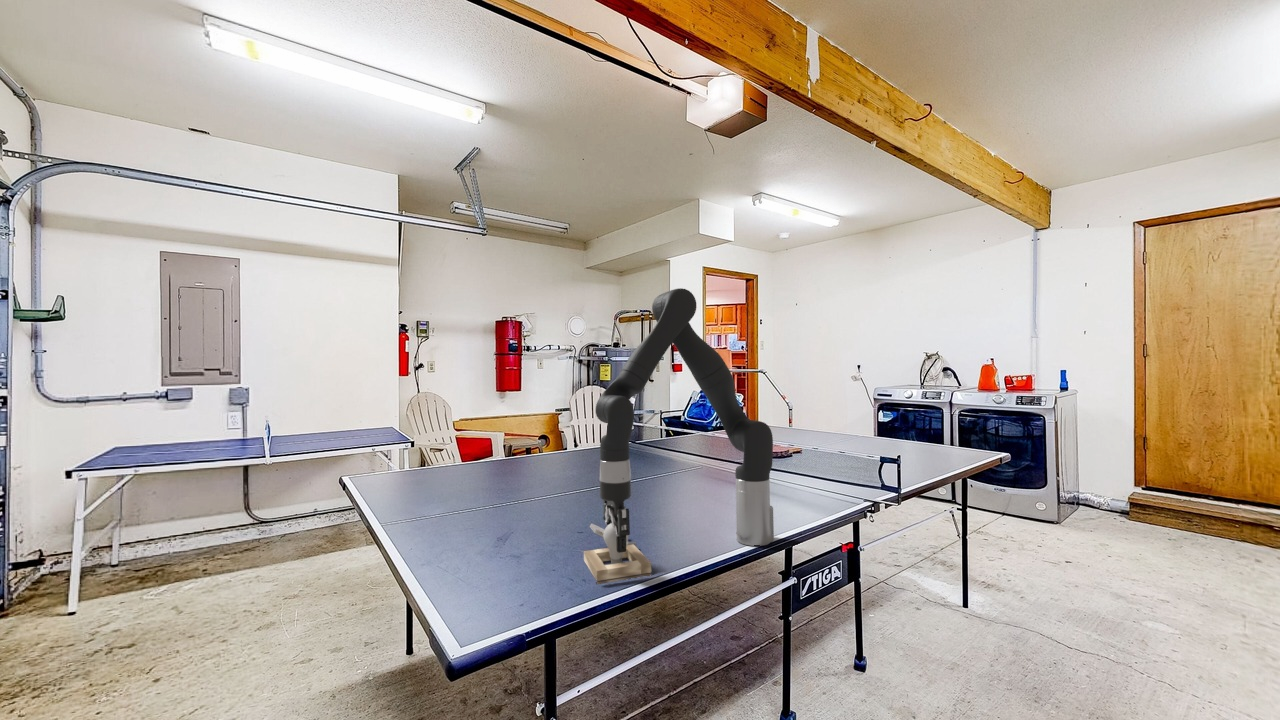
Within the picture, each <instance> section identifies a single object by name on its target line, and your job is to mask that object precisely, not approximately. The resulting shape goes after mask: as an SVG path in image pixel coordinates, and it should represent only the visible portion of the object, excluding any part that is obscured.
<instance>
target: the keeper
mask: <svg viewBox="0 0 1280 720" xmlns="http://www.w3.org/2000/svg"><path fill="white" fill-rule="evenodd" d="M589 528H590V529H591V530H592V532H593V534H596V535H598V536H600V537H602V538H604V537H603V534H604V530H605V528H602V527H601V526H598V525H596V524H594V523H593V522H592V523H590V525H589ZM629 542H630V541H629V540H628V541H627V543H626V545H628V543H629Z"/></svg>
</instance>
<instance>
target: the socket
mask: <svg viewBox="0 0 1280 720" xmlns="http://www.w3.org/2000/svg"><path fill="white" fill-rule="evenodd" d="M623 559H628V561H625V562H622V563H616V564H611V563H610V564H604V562H608V561H610V562H611V558H610V553H609V549H608V547H604V548H597V549H590V550H583V561H584V563H585V564H586V566H587V567H588V570H589V571H590V573H591V574H592V576H593V577H594V579H595V580H596V582H595V584H596V585H601V584H607V583H608V584H609V583H614V582H620V581H621V580H622V581H627V580H626V579H628V580H632V579H631V578H634V579H638V578H637V577H640V578H643V577H642V576H647V577H651V576H652V561H650V560H649V558H647V557H646V555H644V554H643V553H642V551H641V550H639V548H638V547H637V545H636V546H635V545H634V544H632V545H626V551H625V552H623V557H622V560H623ZM650 575H651V576H650ZM622 581H621V582H622Z"/></svg>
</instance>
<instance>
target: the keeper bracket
mask: <svg viewBox="0 0 1280 720" xmlns="http://www.w3.org/2000/svg"><path fill="white" fill-rule="evenodd" d="M632 544H634V545H635V546H636V547H637V542H636V541H629V543H628V545H632Z"/></svg>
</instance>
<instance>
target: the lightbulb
mask: <svg viewBox="0 0 1280 720" xmlns="http://www.w3.org/2000/svg"><path fill="white" fill-rule="evenodd" d="M604 529H605V530H604V534H603V537H602V538H603V541H604V543H605V545H606V547H607V548H608V549H609V553H610V558H611V560H610V564H616V563H623V562H622V561H623V559H622V557H623V552H621V553H618V552H617V550H616V531H615V528H614V527H613V526H612V523H610V524H609V525H608V526H607V525H606V526H605V528H604ZM621 530H623V527H621ZM629 536H630V535H627V536H626V543H627V541H629Z"/></svg>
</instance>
